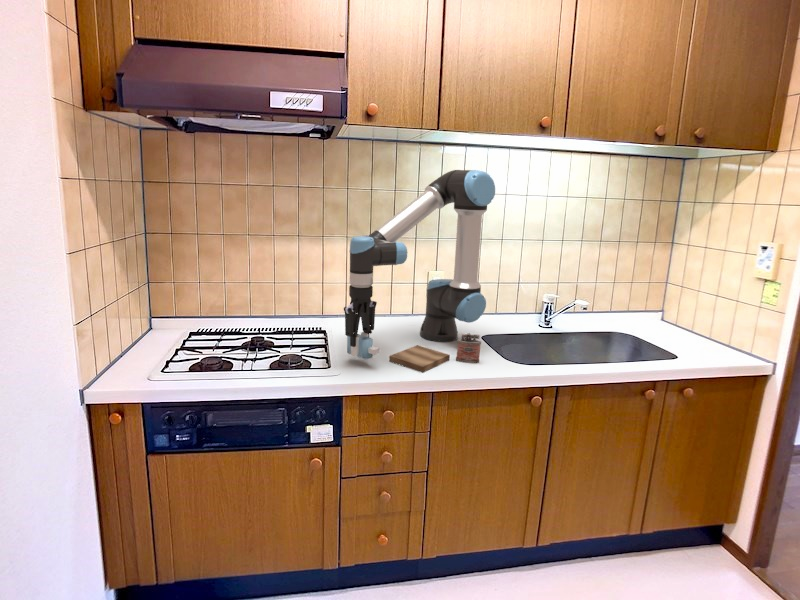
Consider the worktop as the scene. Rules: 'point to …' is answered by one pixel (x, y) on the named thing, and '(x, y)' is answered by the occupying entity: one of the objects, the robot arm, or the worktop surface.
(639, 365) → the worktop surface
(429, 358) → the walnut board
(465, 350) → the lighter
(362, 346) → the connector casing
